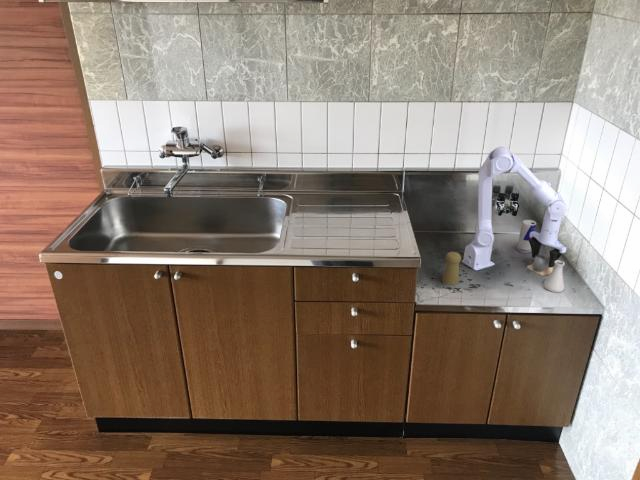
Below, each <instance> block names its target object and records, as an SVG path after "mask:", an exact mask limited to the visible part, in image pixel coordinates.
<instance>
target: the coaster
mask: <svg viewBox="0 0 640 480" xmlns="http://www.w3.org/2000/svg"><path fill="white" fill-rule="evenodd" d="M533 264H534V263H533ZM533 264H532V263H531V264H530V265H527V266H526V268H527V269H529V270H531V271H532V272H535V274H538V275H540V276H541V277H543V276H546V275H550V273H551V272H552V270H553V268H554V267H551V268H549V269H548V270H545V271H541V272H537V271H534V270H533Z"/></svg>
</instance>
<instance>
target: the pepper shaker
mask: <svg viewBox="0 0 640 480" xmlns="http://www.w3.org/2000/svg"><path fill="white" fill-rule="evenodd" d="M445 261H446V263H445V267H444V270H443V273H442V277H441V282H442V283H443V282H444V283H443V284H445V285H448V286H456V284H457V285H458V284H459V283H460V274H459V273H460V263H461V262H462V256H461V254H460V253H459V252H457V251H450V252H447V253H446V254H445Z"/></svg>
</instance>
